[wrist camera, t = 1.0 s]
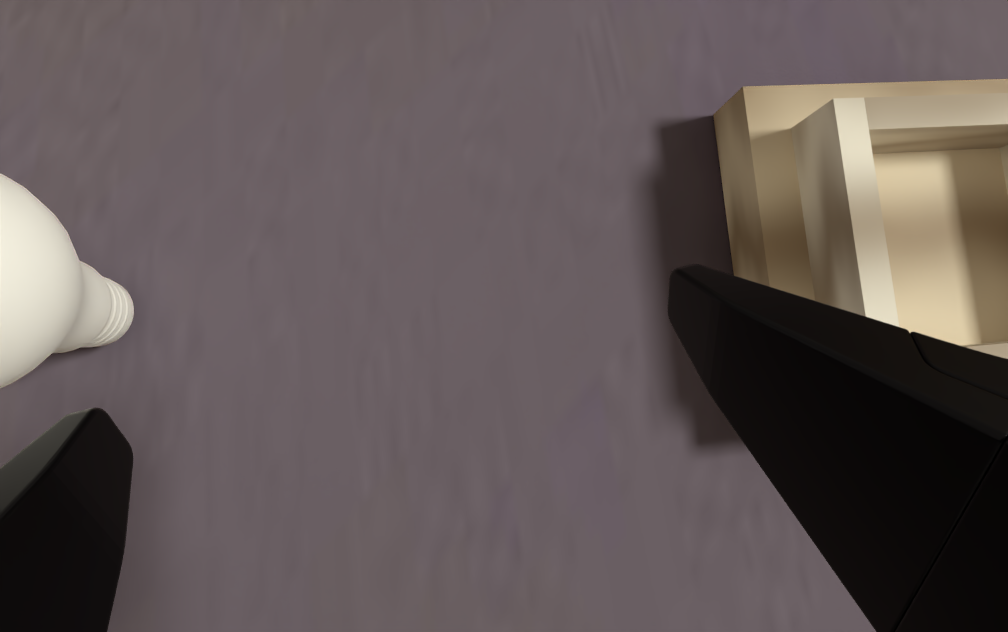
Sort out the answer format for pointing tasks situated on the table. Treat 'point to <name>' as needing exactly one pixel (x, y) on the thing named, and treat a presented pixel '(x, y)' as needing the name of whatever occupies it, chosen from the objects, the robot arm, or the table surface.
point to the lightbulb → (48, 289)
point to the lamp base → (875, 200)
